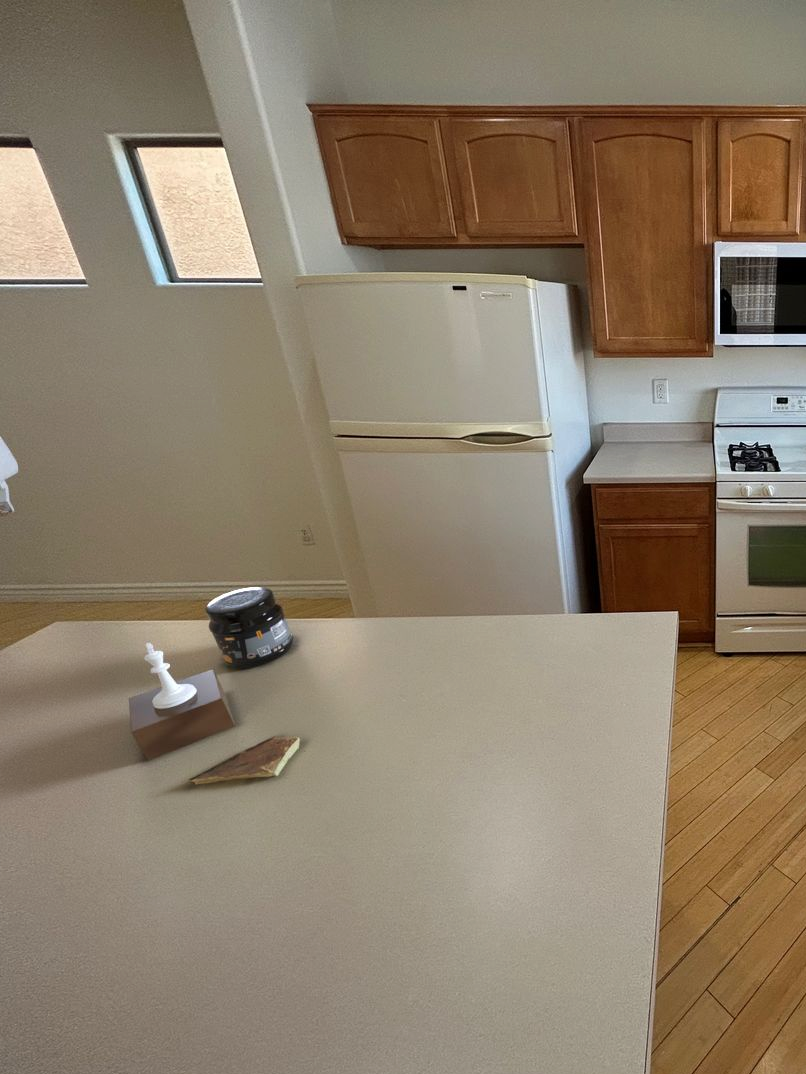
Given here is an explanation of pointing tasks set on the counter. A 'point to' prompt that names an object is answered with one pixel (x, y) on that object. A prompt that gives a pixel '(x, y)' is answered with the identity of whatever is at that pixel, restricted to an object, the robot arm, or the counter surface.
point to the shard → (253, 761)
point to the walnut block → (180, 717)
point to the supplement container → (249, 627)
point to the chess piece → (167, 682)
